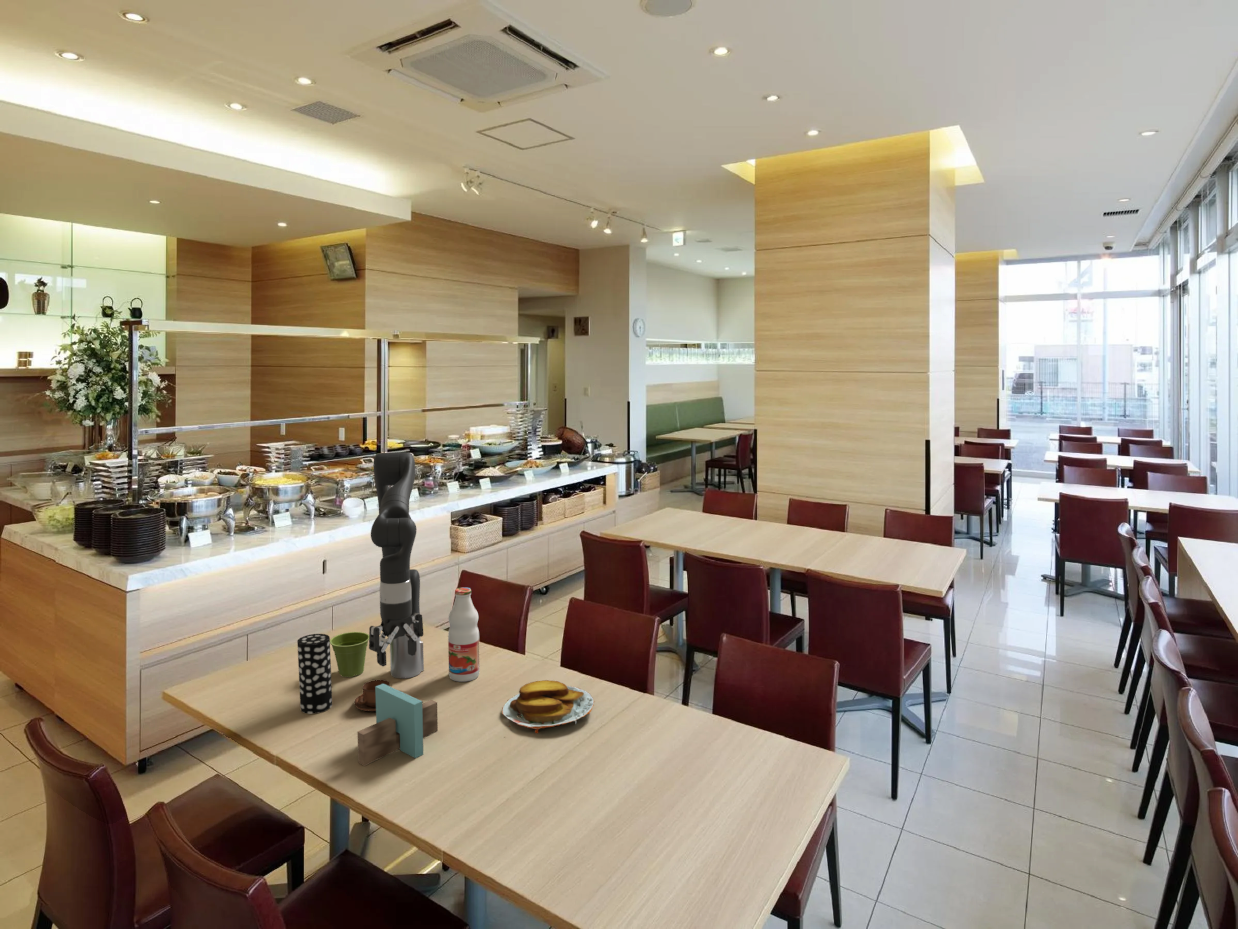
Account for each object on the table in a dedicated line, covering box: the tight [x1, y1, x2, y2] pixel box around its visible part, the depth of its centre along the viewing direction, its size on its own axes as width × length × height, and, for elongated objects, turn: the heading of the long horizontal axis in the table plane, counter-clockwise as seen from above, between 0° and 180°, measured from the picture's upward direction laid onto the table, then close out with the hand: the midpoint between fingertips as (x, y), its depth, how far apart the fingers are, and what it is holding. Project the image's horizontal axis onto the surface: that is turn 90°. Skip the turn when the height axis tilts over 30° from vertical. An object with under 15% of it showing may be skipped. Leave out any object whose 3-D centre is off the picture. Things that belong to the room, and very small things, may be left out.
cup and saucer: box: [353, 679, 391, 712], centre depth 206 cm, size 12×12×6 cm
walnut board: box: [356, 699, 439, 767], centre depth 184 cm, size 22×2×8 cm, turn 142°
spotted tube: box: [296, 633, 333, 715], centre depth 203 cm, size 8×8×20 cm
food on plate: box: [501, 679, 595, 734], centre depth 203 cm, size 26×26×7 cm
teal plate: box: [375, 684, 424, 759], centre depth 183 cm, size 2×16×14 cm, turn 52°
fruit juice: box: [447, 587, 480, 683], centre depth 224 cm, size 9×9×28 cm
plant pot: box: [330, 631, 369, 678], centre depth 226 cm, size 12×12×11 cm
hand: (397, 659), depth 181 cm, fingers open, 8 cm apart
